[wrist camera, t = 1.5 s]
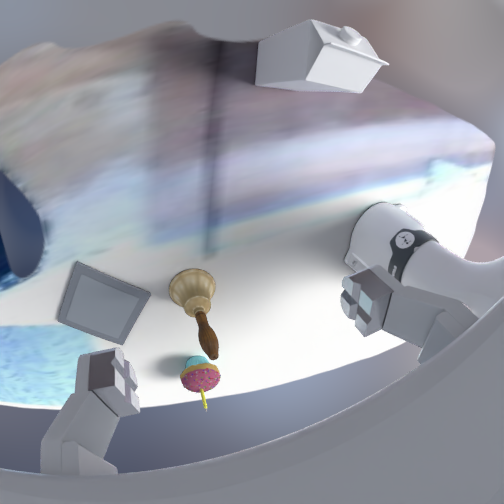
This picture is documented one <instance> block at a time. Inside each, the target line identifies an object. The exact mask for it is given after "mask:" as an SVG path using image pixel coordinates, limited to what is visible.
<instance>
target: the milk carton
mask: <svg viewBox="0 0 504 504" xmlns="http://www.w3.org/2000/svg"><path fill="white" fill-rule="evenodd" d="M382 65H389V63H387V62H385V61H383V60H380V59H379V58H378V56H377V54H376V53H375V51H374V50H373V48H372V47H371V45H370V44H369V42H368V40H367V39H366V38H364V37H362V36H361V35H360V34H359V33H358V32H357V31H356V30H354V29H352V28H350V27H347V26H344V27H343V28H342V29H341V28H338V27H335V26H332V25H329V24H326V23H323V22H319V21H316V20H311V19H310V20H307V21H304V22H302V23H299V24H297V25H295V26H292V27H290V28H288V29H285V30H283V31H281V32H279V33H277V34H274V35H272V36H270V37H268V38H266V39H264V40H262V41H260V42H259V45H258V56H257V68H256V79H255V85H256V86H263V87H272V88H280V89H287V90H293V91H330V92H350V93H362V92H363V90H364V89H365V88H366V86H367V85H368V83H369V82H370V81H371V79H372V78H373V77H374V75H375V74H376V73H377V71H378V70H379V68H380V67H381V66H382Z"/></svg>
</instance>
